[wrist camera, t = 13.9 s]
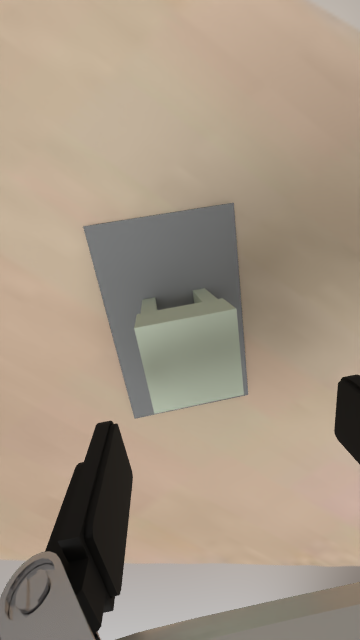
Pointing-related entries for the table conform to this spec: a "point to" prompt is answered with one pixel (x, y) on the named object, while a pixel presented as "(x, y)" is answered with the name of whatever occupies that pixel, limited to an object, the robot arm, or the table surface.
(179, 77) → the table surface
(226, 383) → the pale green stool
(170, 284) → the mat
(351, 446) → the robot arm
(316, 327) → the table surface
